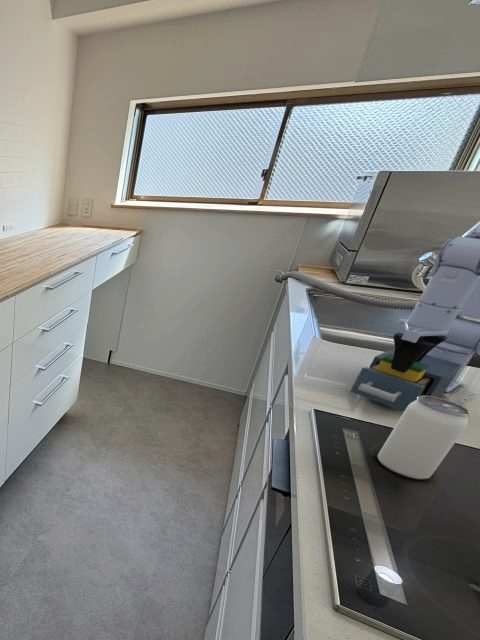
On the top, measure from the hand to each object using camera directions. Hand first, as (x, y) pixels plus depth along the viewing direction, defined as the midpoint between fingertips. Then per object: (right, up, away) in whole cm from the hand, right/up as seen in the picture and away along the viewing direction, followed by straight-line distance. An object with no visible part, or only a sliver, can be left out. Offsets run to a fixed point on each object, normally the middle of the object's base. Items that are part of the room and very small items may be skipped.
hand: (402, 368), depth 84 cm
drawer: (-1, -6, +3) cm, 7 cm away
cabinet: (+8, -5, +8) cm, 12 cm away
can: (-17, -16, -16) cm, 29 cm away
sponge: (0, -1, +1) cm, 1 cm away
